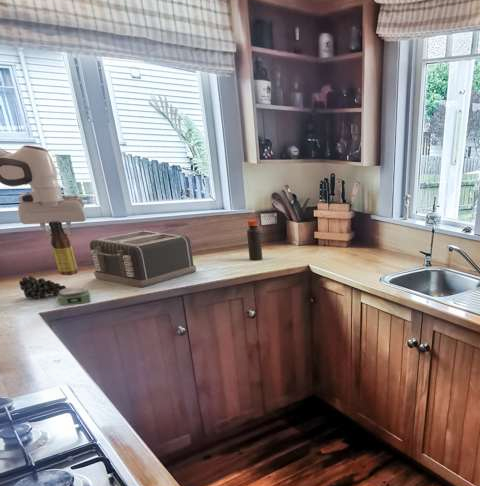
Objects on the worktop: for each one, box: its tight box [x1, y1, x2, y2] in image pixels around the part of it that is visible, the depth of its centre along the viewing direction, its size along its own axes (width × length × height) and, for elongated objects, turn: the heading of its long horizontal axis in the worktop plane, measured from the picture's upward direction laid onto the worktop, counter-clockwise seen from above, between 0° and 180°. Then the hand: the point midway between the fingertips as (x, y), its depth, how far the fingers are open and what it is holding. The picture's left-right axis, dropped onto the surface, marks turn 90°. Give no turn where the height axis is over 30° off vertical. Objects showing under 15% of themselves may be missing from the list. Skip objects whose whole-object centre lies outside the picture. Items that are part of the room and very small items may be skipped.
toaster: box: [89, 230, 197, 289], centre depth 211 cm, size 30×36×17 cm
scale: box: [57, 287, 92, 306], centre depth 181 cm, size 10×11×3 cm
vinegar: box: [246, 219, 263, 261], centre depth 245 cm, size 7×7×20 cm
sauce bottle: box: [48, 221, 79, 276], centre depth 174 cm, size 7×6×20 cm
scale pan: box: [59, 286, 88, 296], centre depth 181 cm, size 9×9×1 cm
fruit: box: [18, 275, 67, 300], centre depth 184 cm, size 9×8×15 cm
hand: (58, 235), depth 171 cm, fingers closed on sauce bottle, 4 cm apart
